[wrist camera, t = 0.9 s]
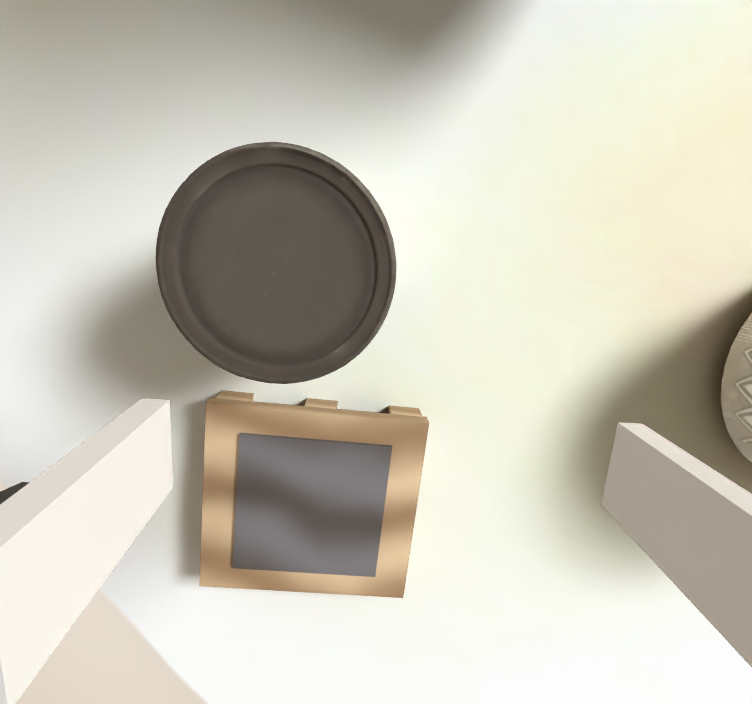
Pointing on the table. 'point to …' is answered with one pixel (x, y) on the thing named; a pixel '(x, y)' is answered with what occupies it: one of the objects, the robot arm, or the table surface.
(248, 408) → the dock
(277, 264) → the coffee can
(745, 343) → the planter
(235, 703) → the table surface
